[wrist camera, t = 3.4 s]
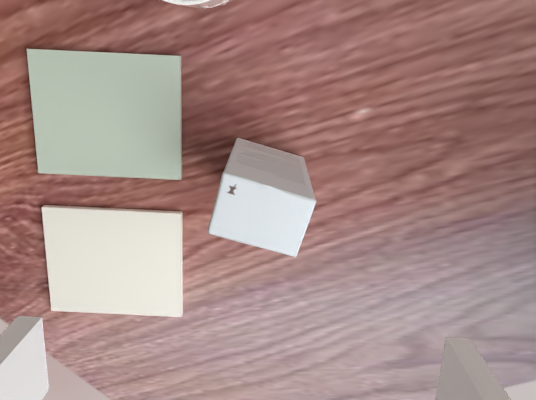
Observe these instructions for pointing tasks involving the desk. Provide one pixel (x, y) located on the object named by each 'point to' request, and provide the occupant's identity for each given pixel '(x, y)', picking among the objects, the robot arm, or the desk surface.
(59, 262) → the taller pad
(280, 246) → the skincare box
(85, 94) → the shorter pad
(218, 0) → the white cup
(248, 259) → the desk surface
